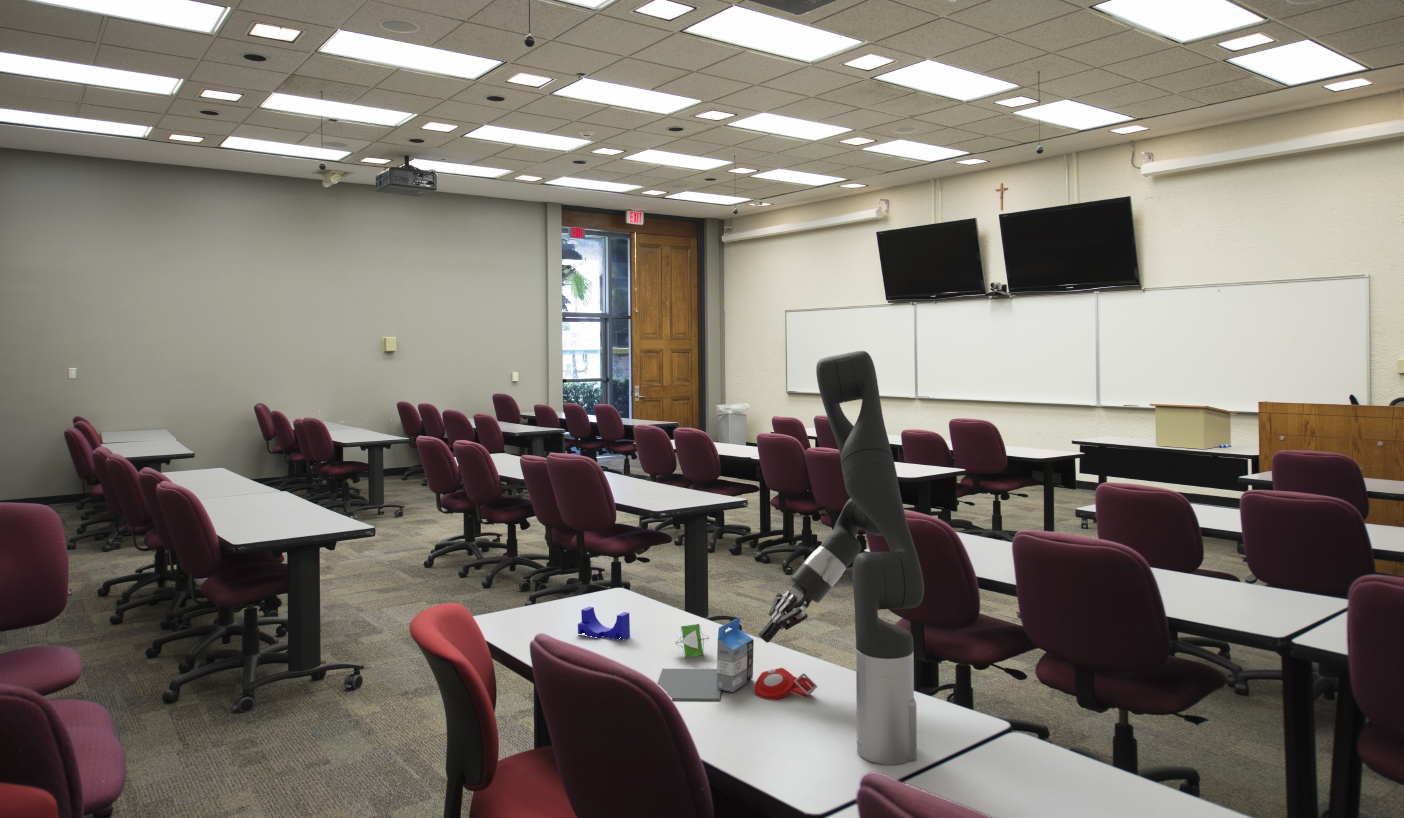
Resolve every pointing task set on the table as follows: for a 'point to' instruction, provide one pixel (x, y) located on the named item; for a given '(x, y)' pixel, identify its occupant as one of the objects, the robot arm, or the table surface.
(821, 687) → the table surface
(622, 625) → the blue cradle support
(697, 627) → the geometric puzzle
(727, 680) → the label tape box
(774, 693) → the tracker holder
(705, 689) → the mat
